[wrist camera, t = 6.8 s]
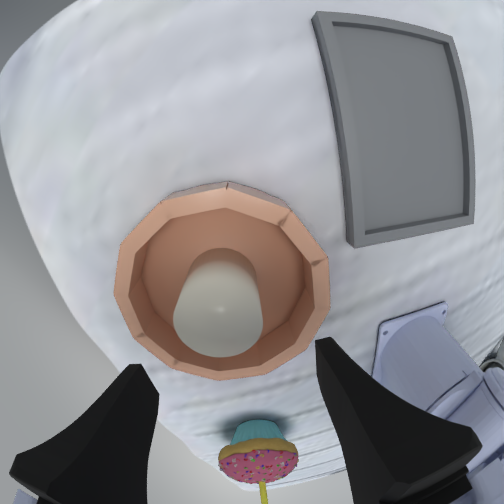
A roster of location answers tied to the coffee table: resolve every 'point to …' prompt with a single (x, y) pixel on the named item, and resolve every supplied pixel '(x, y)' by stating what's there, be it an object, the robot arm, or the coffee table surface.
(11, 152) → the coffee table surface
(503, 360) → the ceramic mug
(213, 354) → the smooth grey cylinder
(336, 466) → the coffee table surface
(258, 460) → the cupcake
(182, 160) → the coffee table surface
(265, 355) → the terracotta bowl
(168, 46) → the coffee table surface
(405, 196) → the parts tray
